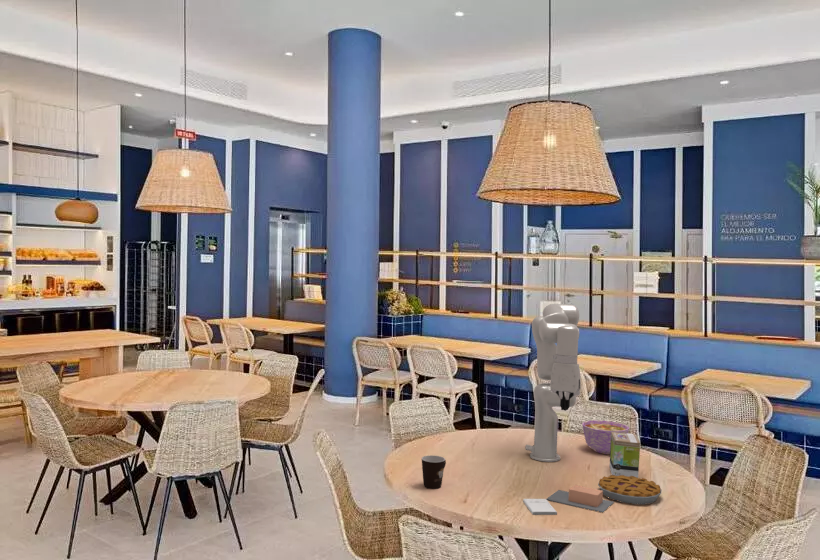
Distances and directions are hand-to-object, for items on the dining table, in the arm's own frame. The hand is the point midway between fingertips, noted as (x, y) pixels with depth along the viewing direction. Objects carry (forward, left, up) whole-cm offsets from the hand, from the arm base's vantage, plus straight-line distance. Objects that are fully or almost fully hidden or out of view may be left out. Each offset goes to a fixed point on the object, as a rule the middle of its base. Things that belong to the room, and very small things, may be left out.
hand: (564, 409), depth 250 cm
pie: (+22, +9, -30) cm, 38 cm away
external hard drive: (+1, -24, -30) cm, 38 cm away
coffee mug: (-38, -26, -29) cm, 55 cm away
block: (+7, -9, -27) cm, 29 cm away
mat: (+10, -9, -29) cm, 32 cm away
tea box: (+13, +34, -29) cm, 47 cm away
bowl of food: (-3, +61, -29) cm, 68 cm away
